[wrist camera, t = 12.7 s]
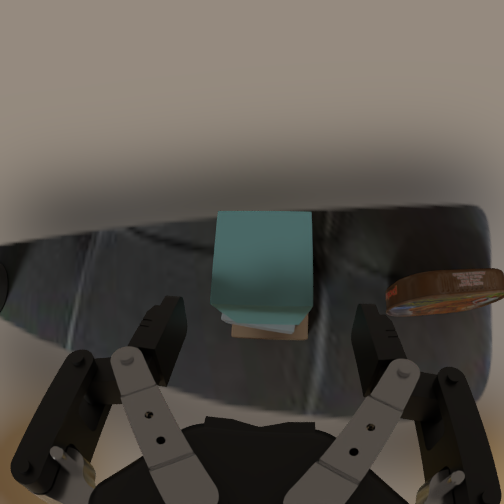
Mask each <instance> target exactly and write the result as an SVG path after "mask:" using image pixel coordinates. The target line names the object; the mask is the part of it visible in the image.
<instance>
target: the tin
mask: <svg viewBox="0 0 504 504" xmlns="http://www.w3.org/2000/svg"><path fill="white" fill-rule="evenodd" d="M503 298H504V274H503V272H502V271H501V270H499V269H495V268H487V269H457V270H436V271H428V272H422V273H418V274H414V275H410V276H407V277H404V278H402V279H399V280H398V281H396V282H395V283H394V284H393V285H391V286H390V287H389V288H387V290H386V306H387V310H386V314H388V315H390V316H398V317H402V316H418V315H430V314H441V313H451V312H460V311H466V310H471V309H475V308H479V307H482V306H485V305H488V304H491V303H494V302H496V301H498V300H501V299H503Z"/></svg>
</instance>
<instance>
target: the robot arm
mask: <svg viewBox="0 0 504 504" xmlns="http://www.w3.org/2000/svg"><path fill="white" fill-rule="evenodd" d="M7 288H8V279H7V273H6V270H5V268H4V266H3V265H2V264H1V263H0V311H1V309H2V307H3V305H4V302H5V299H6V295H7ZM186 333H187V319H186V313H185V307H184V301H183V298H182V297H177V296H165V298H164V300H163V301H162V303H161V305H160V306H158V305H155V306H154V307H152V308H151V309H150V310H149V311H147V313H146V315H145V316H144V318H143V320H142V322H141V323H140V326H139V327H138V328H137V330H136V332H135V334H134V335H133V337H132V339H131V341H130V343H129V344H128V346H127V347H123V348H120V349H118V350H117V351H115V352H114V353H113V355H112V356H111V357H110V358H97V359H94V357H93V355H92V353H91V352H89V351H87V350H77V351H74V352H72V353H71V354H69V355H68V357H67V358H66V359H65V361H64V363H63V365H62V366H61V368H60V369H59V371H58V373H57V375H56V376H55V378H54V380H53V382H52V383H51V385H50V387H49V388H48V390H47V392H46V394H45V396H44V397H43V399H42V401H41V403H40V405H39V407H38V409H37V411H36V413H35V414H34V416H33V418H32V420H31V422H30V424H29V426H28V428H27V430H26V432H25V434H24V436H23V438H22V440H21V442H20V444H19V446H18V449H17V451H16V453H15V455H14V457H13V459H12V462H11V473H12V475H13V477H14V479H15V480H16V481H18V482H19V483H20V484H22V485H23V486H25V487H26V488H27V489H28V490H29V491H30V492H32V493H33V494H35V495H36V496H38V497H39V498H41V499H42V500H44V501H45V502H47V503H49V504H409V503H408V502H407V501H406V500H405V499H403V498H402V497H401V496H400V495H399V494H398V493H396V492H395V491H394V490H393V489H392V488H391V487H390V486H389V485H387V484H386V483H385V482H384V481H383V480H382V479H381V478H379V477H378V476H377V475H376V474H375V473H374V472H373V471H372V470H371V469H370V467H371V465H372V464H373V463H374V461H375V460H376V458H377V456H378V455H379V453H380V452H381V450H382V448H383V447H384V445H385V443H386V442H387V440H388V438H389V437H390V435H391V433H392V432H393V430H394V428H395V426H396V424H397V423H398V421H399V419H400V418H403V419H409V420H414V421H415V426H416V431H417V436H418V441H419V447H420V452H421V458H422V464H423V471H424V477H425V484H423V485H422V486H421V487H420V488H419V490H418V492H417V495H416V503H415V504H500V501H501V489H500V484H499V480H498V476H497V472H496V468H495V464H494V460H493V456H492V452H491V449H490V446H489V442H488V439H487V436H486V432H485V429H484V426H483V423H482V420H481V418H480V415H479V412H478V409H477V406H476V403H475V401H474V398H473V395H472V393H471V390H470V388H469V385H468V383H467V380H466V378H465V376H464V374H463V373H462V372H461V371H460V370H458V369H456V368H453V367H445V368H443V369H441V370H440V371H439V373H438V375H435V374H429V373H424V372H420V370H419V368H418V366H417V365H416V364H415V363H414V362H412V361H410V360H407V357H406V355H405V352H404V350H403V347H402V345H401V342H400V340H399V338H398V335H397V332H396V331H395V328H394V325H393V323H392V321H391V320H390V319H389V318H388V317H387V316H386V315H379V312H378V310H377V307H376V305H375V304H359V305H358V307H357V311H356V315H355V320H354V324H353V328H352V334H351V340H352V346H353V350H354V354H355V359H356V363H357V367H358V372H359V377H360V381H361V386H362V391H363V396H364V397H366V399H365V400H364V402H363V403H362V405H361V406H360V407H359V409H358V410H357V412H356V413H355V414H354V416H353V417H352V419H351V420H350V421H349V423H348V424H347V425H346V427H345V428H344V429H343V431H342V432H341V433H340V434H339V436H338V437H337V438H336V437H334V436H332V435H330V434H328V433H326V432H323V431H320V430H315V422H287V423H281V424H275V425H270V426H264V427H258V426H254V425H250V424H247V423H243V422H240V421H237V420H234V419H226V418H216V417H208V416H206V418H205V422H204V423H203V424H196V425H192V426H189V427H186V428H184V429H182V430H180V428H179V426H178V424H177V422H176V420H175V419H174V417H173V415H172V413H171V411H170V409H169V407H168V405H167V403H166V401H165V399H164V397H163V396H162V393H161V391H160V389H159V387H158V386H164V387H167V384H168V382H169V379H170V376H171V374H172V371H173V368H174V366H175V363H176V360H177V358H178V355H179V352H180V350H181V347H182V344H183V342H184V339H185V337H186ZM112 404H123V407H124V409H125V412H126V415H127V417H128V420H129V423H130V425H131V428H132V430H133V433H134V435H135V438H136V440H137V443H138V445H139V447H140V449H141V452H142V454H143V456H142V457H140V458H139V459H137V460H136V461H134V462H133V463H131V464H130V465H128V466H126V467H125V468H123V469H122V470H120V471H119V472H117V473H115V474H113V475H112V476H110V477H109V478H107V479H105V480H104V481H102V482H101V483H99V484H98V485H97V486H95V476H96V473H95V470H94V468H93V466H92V465H91V464H90V462H91V459H92V457H93V454H94V451H95V448H96V446H97V443H98V440H99V437H100V435H101V432H102V429H103V427H104V424H105V421H106V419H107V416H108V414H109V411H110V409H111V406H112Z"/></svg>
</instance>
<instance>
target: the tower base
mask: <svg viewBox="0 0 504 504" xmlns="http://www.w3.org/2000/svg"><path fill="white" fill-rule="evenodd" d="M231 336H232V337H235V338H249V339H274V340H306V339H308V314H307V315H306V316H305V318H304V319H303V320H302V322H301V323H300V324H299V325H295V329H294V332H293V333H292V334H286V333H280V332H274V331H268V330H262V329H256V328H251V327H245V326H240V325H235V324H232V335H231Z"/></svg>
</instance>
